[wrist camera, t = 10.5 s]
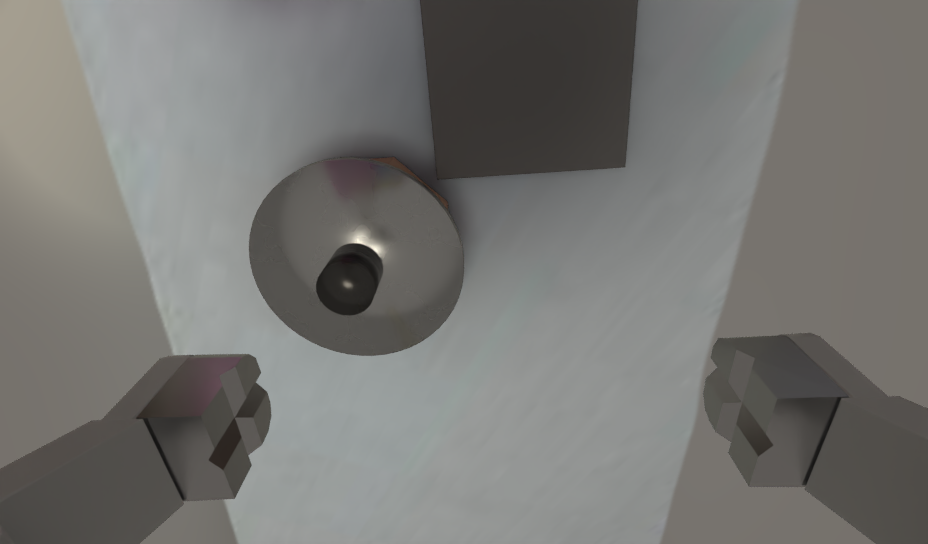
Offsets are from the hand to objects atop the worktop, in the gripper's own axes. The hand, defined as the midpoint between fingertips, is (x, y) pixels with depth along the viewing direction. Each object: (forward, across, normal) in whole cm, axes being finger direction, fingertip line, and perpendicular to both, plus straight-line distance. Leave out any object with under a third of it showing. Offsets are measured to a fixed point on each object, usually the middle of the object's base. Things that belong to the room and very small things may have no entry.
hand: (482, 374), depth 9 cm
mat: (+24, -3, -3) cm, 24 cm away
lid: (+20, +8, +7) cm, 22 cm away
